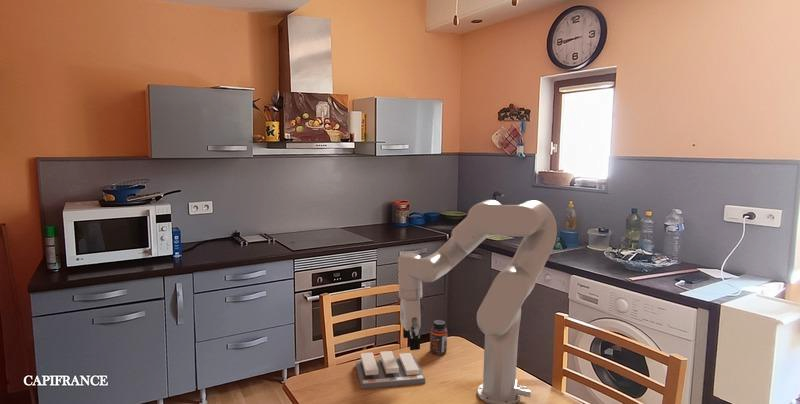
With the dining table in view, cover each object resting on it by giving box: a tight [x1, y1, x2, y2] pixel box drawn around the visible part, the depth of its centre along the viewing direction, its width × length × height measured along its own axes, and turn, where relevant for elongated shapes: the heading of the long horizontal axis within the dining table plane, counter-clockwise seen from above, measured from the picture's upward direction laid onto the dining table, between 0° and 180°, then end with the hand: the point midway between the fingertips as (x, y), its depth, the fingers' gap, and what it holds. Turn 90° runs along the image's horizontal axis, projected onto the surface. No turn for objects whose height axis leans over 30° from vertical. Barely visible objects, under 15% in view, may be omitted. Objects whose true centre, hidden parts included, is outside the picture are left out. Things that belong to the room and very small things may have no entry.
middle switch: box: [379, 350, 399, 374], centre depth 160 cm, size 4×12×2 cm, turn 12°
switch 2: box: [398, 352, 419, 375], centre depth 161 cm, size 4×12×2 cm, turn 12°
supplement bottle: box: [429, 319, 448, 356], centre depth 175 cm, size 6×6×11 cm
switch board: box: [355, 356, 426, 390], centre depth 159 cm, size 20×15×2 cm
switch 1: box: [360, 352, 378, 375], centre depth 158 cm, size 4×12×2 cm, turn 12°
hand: (411, 343), depth 160 cm, fingers open, 9 cm apart
